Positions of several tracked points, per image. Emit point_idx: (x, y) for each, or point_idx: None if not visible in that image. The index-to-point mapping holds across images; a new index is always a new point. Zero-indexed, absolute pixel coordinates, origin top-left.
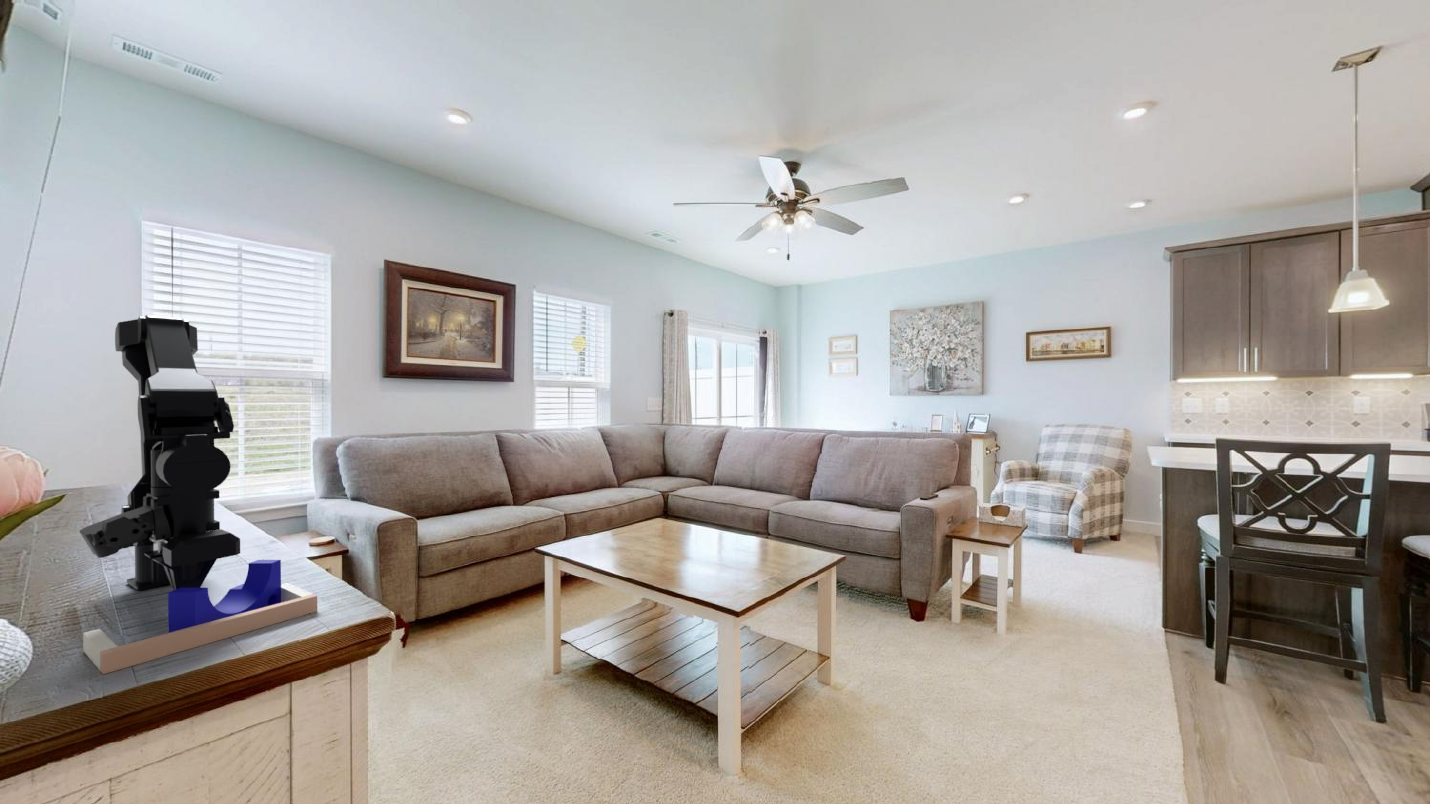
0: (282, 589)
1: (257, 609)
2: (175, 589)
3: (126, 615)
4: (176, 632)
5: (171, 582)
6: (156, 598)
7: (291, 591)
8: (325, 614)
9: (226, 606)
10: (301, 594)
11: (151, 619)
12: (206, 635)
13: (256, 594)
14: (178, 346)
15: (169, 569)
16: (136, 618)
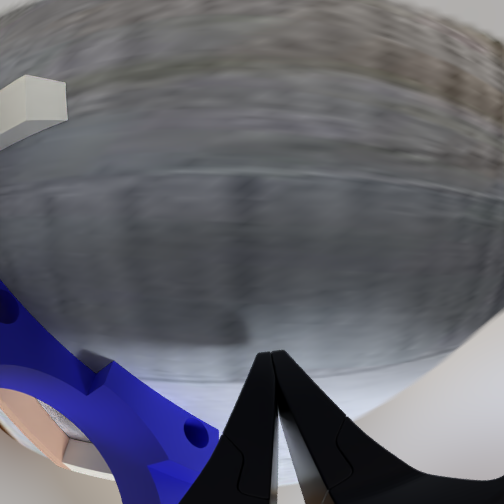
0: None
1: (15, 417)
2: (248, 407)
3: (418, 206)
4: None
5: (303, 422)
6: (486, 282)
7: (109, 474)
8: None
9: (104, 414)
10: (78, 468)
11: (286, 262)
12: None
13: (110, 458)
14: None
15: (324, 486)
16: (352, 225)
